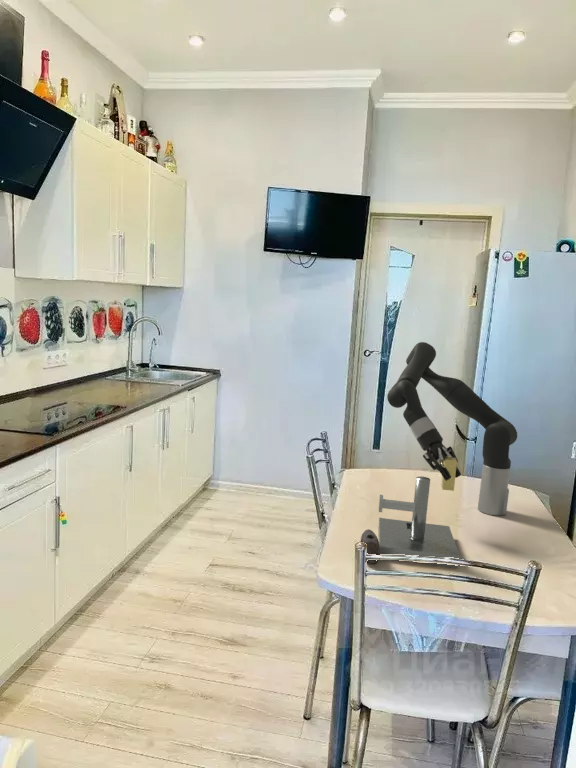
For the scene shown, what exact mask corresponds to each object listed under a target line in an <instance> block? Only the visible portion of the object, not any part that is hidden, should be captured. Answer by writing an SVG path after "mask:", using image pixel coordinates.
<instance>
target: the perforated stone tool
mask: <svg viewBox="0 0 576 768" xmlns="http://www.w3.org/2000/svg"><path fill="white" fill-rule="evenodd" d="M359 542H364V543H366V544H367V553H368V554H376V555H380V545H379V537H378V536H377V535H376V533H375V532H374V531H373V530H372V529H365V530H364V531H363V533H362V534H361V538H360V541H359ZM379 561H380V559H379V560H377V561H376V560H368V561H367V562H366V563H370V564H377V563H379Z"/></svg>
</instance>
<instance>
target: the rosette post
mask: <svg viewBox="0 0 576 768" xmlns="http://www.w3.org/2000/svg"><path fill="white" fill-rule="evenodd" d="M430 486H431V478H429V477H428V476H427V477H426V476H422V475H421V476H416V478H415V487H414V497H413V502H411V501H404V500H393V499H386V498H384V495H383V494H379V498H378V499H379V500H378V513H383V509H386V510H393V511H396V510H397V511H403V512H412V517H411V521H410V520H409V521H408V520H401V519H392V518H383V517H378V518H379V520H378V527H377V530H378V541H379V545H380V554H405V555H419V556H435V557H454V558H459V559H460V558H461V557H460V553H459V551H458V547H457V545H456V542H455V539H454V536H453V533H452V531H451V528H450V525H443V524H434V523H427V514H428V505H429V496H430ZM413 563H416V564H418V563H417V562H413ZM420 564H423V565H430V566H431V565H432V566H438V567H446V568H452V569H459V567H460V566H455V565H447V564H437V563H420Z"/></svg>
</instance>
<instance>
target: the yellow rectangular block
mask: <svg viewBox="0 0 576 768" xmlns="http://www.w3.org/2000/svg"><path fill="white" fill-rule="evenodd" d="M456 458H457V457H456ZM456 458H452V457H444V468H445V467H446V469H447V471H448V472H449V474H450V475H451V478H450V479H449V480H447V481H446V480H445V479H444V478H443V476H442V475H441V476H442V477H441V483H440V485H441V486H440V487H441V489H442V491H443V490H444V491H455V482H456V477H455V475H456V466H457V464H458V462H457V460H458V459H457V460H456ZM457 467H458V466H457Z"/></svg>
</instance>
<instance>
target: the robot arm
mask: <svg viewBox="0 0 576 768" xmlns="http://www.w3.org/2000/svg"><path fill="white" fill-rule="evenodd" d="M436 357H437V351H436V349H435V347H433V345H431V344H430V343H428V342H426V341H425V342H424V341H420V342H417V343H416V344H415V345H414V346H413V348H412V349H411V351H410V353H409V354H408V356H407V357H406V360H405V362H406V366H405V368H404V369H403V371H402V372H401V374H400V375H399V378H398V379H397V381H396V383H395V384H393V386H391V389H389V391H388V392H387V397H386V398H387V402H388V404H389V405H391V407H392V408H396V409H400V408H402V407H404V406H405V405H406V407H405V410H404V411H403V415H402V417H403V418H404V420H405V422H406V423H407V424H408V427H410V428H409V429H410V431H411V432H412V434H413V436H414V437H415V439H416V441H417V443H418V444H419V446H420V448H421V449H422V451H424V452H425V453H424V454H423V455H422V458H423V459H424V460H425V462H426V463H427V464H428V465H429V466H430V468H432V470H433V471H438V472H440V474H441V476H443V478H444V479H445V480H446V481H447V480H449V479H450V478H451V475H450V474H449V472H448V471H447V469H446V467H445V468H444V457H452V458H456V460H457V463H458V462H459V460H458V458H457V456H456V454H455V451H454V449H453V447H452V446H448V447H446V446H445V445H444V444H443V440H444V439H443V437H442V435H441V434H440V431H439V430H438V429H437V427H436V425H435V424H434V423H433V421H432V420H431V419H430V417H429V416H428V415H427V413H426V411H425V410H424V409H423V406H422V404H421V399H420V397H419V393H418V390H417V387H418V385H419V383H420V381H421V379H422V380H424V381H425V382H426V383H428V384H429V385H430V386H432V388H433V389H434V390H436V392H437V393H439V394H440V395H441V396H442V397H443V398H444V399H445V400H446V401H447V402H448V403H449V404H450V405H451V406H452V407H453V408H454V409H455V410H457V411H458V412H460V413H462V414H463V415H465V416H467V417H469V418H470V419H472V420H473V421H475V422H477V423H478V424H479V425H481V426H482V427H483V428H484V429H485V430H484V435H483V440H482V441H483V442H482V443H483V444H482V453H481V454H482V458H483V462H482V464H483V465H482V471H481V480H480V488H479V494H478V495H479V496H478V503H477V504H478V505H477V510H478V511H479V512H481V513H483V514H486V515H489V516H490V515H491V516H506V515H507V511H508V509H507V508H508V501H509V496H510V495H509V494H510V489H509V479H510V471H511V466H512V465H511V464H512V461H511V458H510V455H509V454H510V446H511V445H513V444H515V442H516V441H517V440H518V432H517V429H516V426H514V425H513V423H511V422H510V421H509V420H507V419H506V418H504V417H503V416H501V415H500V414H499V413H498V412H497V411H495V410H494V409H493V408H491V407H490V406H489V404H487V403H486V402H485V401H484V400H483V399H482V398H481V397H480V396H479V395H478V394H477V393H476V392H475V391H474V389H472V388H471V387H470V386H468V384H466V383H465V382H464V381H462V380H461V379H459V378H455V377H449V376H444V375H440V374H438V373H436V372H434V370H432V369H431V368H430V366H432V363H433V362H434V361H435V359H436ZM461 475H462V473H461V471H460V469H459V468H458V466H456V475H455V479H457V478H459V477H461Z"/></svg>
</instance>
